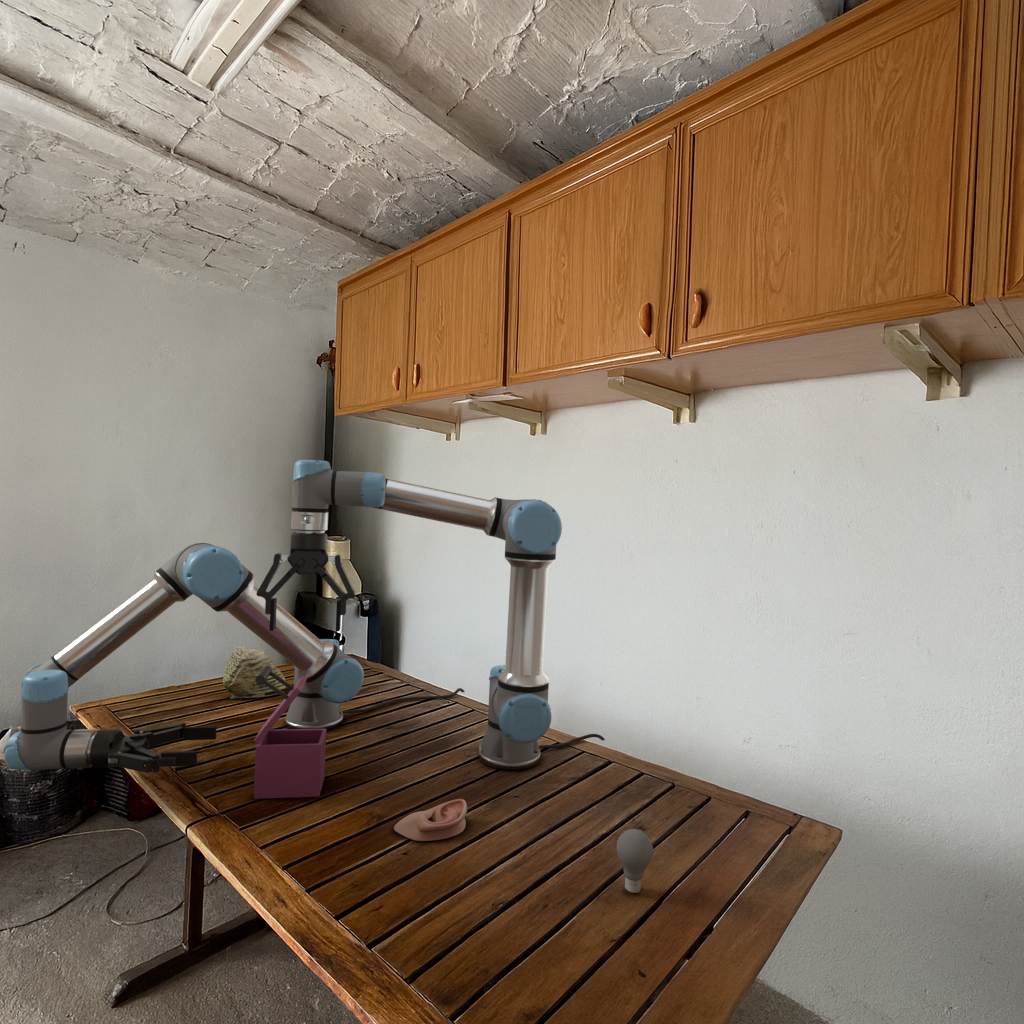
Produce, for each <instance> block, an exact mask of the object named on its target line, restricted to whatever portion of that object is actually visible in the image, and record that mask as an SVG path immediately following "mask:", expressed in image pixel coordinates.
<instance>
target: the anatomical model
mask: <svg viewBox="0 0 1024 1024" xmlns="http://www.w3.org/2000/svg"><path fill="white" fill-rule="evenodd" d="M467 804H468V803H467V801H466V800H465V799H463V798H457V799H452V800H449V801H446V802H443V803H440V804H438V805H435V806H434V807H431V808H429V809H426V810H421V811H416V812H413V813H412V812H411V813H409V814H408V815H406V816H405V817H403V818H402V819H400V820H399V821H398V822H397V823H395V825H394V826H393V830H394V831H395V832H396V833H397V834H399V835H401V836H403V837H405V838H407V839H410V840H412V841H416V842H428V841H439V840H445V839H449V838H453V837H455V836H457V835H460V834H461V833H462V832H464V831H465V829H466V826H467V825H466V824H467V822H466V818H465V817H466V816H467V812H468V805H467Z"/></svg>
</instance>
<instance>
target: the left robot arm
mask: <svg viewBox="0 0 1024 1024" xmlns="http://www.w3.org/2000/svg"><path fill="white" fill-rule="evenodd" d="M259 588H260V586H258V585H256V584H255V575H254V573H253V572H251V570H249V568H247V567H246V566H245V565H244V564H243V563H241V560H239V559H238V557H237V556H236V554H234V553H233V552H232V551H231V550H229V549H228V548H224V547H222V546H217V545H214V544H211V543H207V542H197V543H196V542H195V543H193V544H189V545H188V546H186V547H184V548H183V549H181V550H180V551H179V552H177V553H176V554H175V555H174V556H173V557H171V558H170V559H169V560H168V561H166V563H164V564H163V565H162V566H160V567H159V568H158V569H157V570H155V571H154V572H153V578H152V579H151V580H149V581H148V582H147V583H146V584H144V585H143V586H141V587H140V588H139V589H138V590H136V591H135V592H134V593H133V594H131V595H130V596H129V597H127V598H126V599H125V600H123V601H122V602H121V603H119V604H118V605H117V606H116V607H115V608H113V609H112V610H111V611H109V612H107V614H105V615H104V616H103V617H102V618H100V619H99V620H97V621H96V622H95V623H94V624H92V625H91V626H90V627H88V628H87V629H85V631H83V632H82V633H81V634H79V635H78V636H76V637H75V638H74V639H73V640H71V641H70V642H69V643H67V644H66V645H65V646H64V647H63V648H61V649H60V650H58V651H57V652H56V653H55V654H53V655H52V656H50V657H49V658H48V659H47V660H45V661H44V662H42V663H38V664H36V665H34V666H32V667H31V668H30V669H28V671H26V673H25V674H24V677H23V678H22V681H21V690H20V697H21V728H20V729H21V730H20V731H17V732H14V733H13V734H12V735H11V736H10V737H9V739H8V740H7V742H6V745H5V746H6V748H5V750H4V752H3V754H4V755H3V761H4V763H5V765H6V767H7V768H9V769H10V770H14V771H31V772H33V771H34V772H35V771H45V770H47V771H48V770H65V769H66V770H68V769H77V770H78V771H82V770H84V769H91V768H92V767H93V768H95V769H101V768H102V769H103V768H120V769H126V770H131V771H135V772H140V773H141V772H142V773H147V774H149V773H159V772H160V768H165V767H166V768H168V767H169V768H170V767H194V766H197V765H198V750H181V751H179V750H177V751H161V753H160V754H159V753H157V752H154V751H152V749H153V748H154V747H156V746H160V745H164V744H168V743H171V742H175V741H179V740H183V741H210V740H211V741H213V740H217V725H213V726H212V725H211V726H187V723H186V722H181V723H175V724H168V725H165V726H156V727H151V728H141V729H135V730H134V732H133V734H131V735H127V736H126V735H124V733H123V731H122V729H120V728H101V729H98V728H84V729H83V728H82V729H67V728H68V726H67V725H68V720H67V719H68V702H69V701H68V700H69V699H68V696H69V694H68V691H69V690H70V688H71V686H73V685H74V684H75V683H77V682H78V681H79V680H80V679H81V678H83V677H84V676H85V675H86V674H88V673H89V672H90V671H91V670H93V669H94V668H95V667H96V666H97V665H99V664H100V663H102V661H104V660H105V659H106V658H107V657H109V656H110V655H112V653H114V652H115V651H116V650H118V649H119V648H120V647H121V646H123V645H124V644H125V643H126V642H128V641H129V640H130V639H131V638H133V637H134V636H135V635H136V634H137V633H139V632H140V631H141V630H143V629H144V628H146V627H147V626H148V625H149V624H151V622H153V621H154V620H156V619H157V618H158V617H159V616H160V615H162V614H163V613H164V612H166V611H167V610H168V609H169V608H171V606H173V605H174V604H176V603H177V602H181V603H182V602H185V601H186V600H187V599H188V598H190V597H191V596H195V597H197V598H198V599H200V600H201V601H202V602H203V603H205V604H206V605H207V606H208V607H210V608H211V609H212V610H214V611H215V612H217V613H220V612H221V613H222V612H227V613H228V614H230V615H231V616H232V617H233V618H235V619H236V620H237V621H239V622H240V623H241V624H242V625H243V626H245V627H246V628H247V629H248V630H249V631H250V632H251V633H253V634H254V635H256V636H257V637H258V638H259V639H261V640H262V642H264V643H265V644H267V645H268V646H269V647H270V648H271V649H273V650H274V651H276V652H277V653H278V654H279V655H280V656H282V657H283V658H284V659H285V660H286V661H288V662H289V663H290V664H292V665H293V667H294V672H293V673H294V674H293V687H294V686H295V685H296V683H297V682H298V681H299V680H300V678H301V677H302V676H304V677H306V678H307V680H306V682H305V684H304V686H303V688H302V690H301V692H300V693H299V694H298V695H297V697H296V698H295V699H294V700H293V702H292V703H291V704H290V705H289V707H288V711H287V713H286V715H285V726H286V728H287V729H326V731H329V730H332V729H335V728H337V727H339V726H340V725H342V723H343V722H344V715H346V714H357V713H358V714H359V713H367V712H369V711H373V710H375V709H378V708H380V707H384V706H387V705H390V704H394V703H399V702H405V701H417V700H419V701H420V700H422V701H423V700H436V699H437V700H441V699H449V698H452V697H455V696H456V695H458V693H459V692H461V693H465V692H466V691H465V690H464V689H463V688H462V687H459V688H457V689H456V690H455V691H453V692H452V693H450V694H444V695H426V696H425V695H424V696H407V697H400V698H395V699H391V700H387V701H384V702H381V703H378V704H377V703H376V704H375V705H372V706H369V707H366V708H359V709H346V710H343V709H342V706H341V704H344V703H347V702H350V701H351V700H352V699H354V698H355V697H356V696H357V695H358V694H359V693H360V691H361V689H362V688H363V684H364V680H365V671H364V669H363V667H362V665H361V664H360V663H359V661H358V660H357V659H356V658H353V657H351V656H349V655H348V654H347V653H346V652H344V651H343V650H342V649H341V648H340V647H341V646H340V642H339V640H337V639H334V638H323V639H322V638H318V637H317V636H316V635H315V634H314V633H312V632H311V630H309V629H308V628H307V627H306V626H305V625H303V624H302V623H301V622H300V621H298V619H296V618H295V617H294V616H293V615H291V614H290V613H289V612H288V611H287V610H286V609H285V608H284V607H282V606H281V604H278V603H277V607H276V628H275V629H274V630H273V631H270V614H266V613H265V599H264V598H263V597H259V596H257V595H256V593H257V591H258V589H259Z"/></svg>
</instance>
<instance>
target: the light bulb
mask: <svg viewBox="0 0 1024 1024" xmlns="http://www.w3.org/2000/svg"><path fill="white" fill-rule="evenodd" d="M615 849H616V854H617V857H618V859H619V861H620V863H621V865H622V867H623V873H624V874H623V875H624V876H625V878H624V888H625V890H627V891H628V892H630V893H634V894H635V893H639V892H640V891H641V889H642V887H641V886H642V879H643V877H644V875H645V871H646V868H647V867H648V866H649V864H650V863H651V861H652V859H653V855H654V847H653V843H652V841H651V838H649V836H648V835H647V834H646V833H645V832H643V831H642V830H641V829H636V828H629V829H627V830H625V831H623V832H622V833H621V834H620V835H619V837H618V839H617V841H616V847H615Z"/></svg>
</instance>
